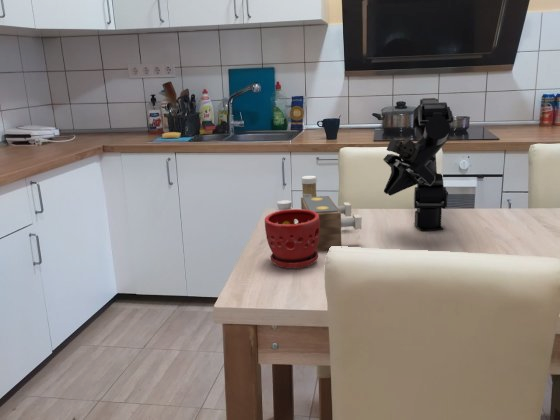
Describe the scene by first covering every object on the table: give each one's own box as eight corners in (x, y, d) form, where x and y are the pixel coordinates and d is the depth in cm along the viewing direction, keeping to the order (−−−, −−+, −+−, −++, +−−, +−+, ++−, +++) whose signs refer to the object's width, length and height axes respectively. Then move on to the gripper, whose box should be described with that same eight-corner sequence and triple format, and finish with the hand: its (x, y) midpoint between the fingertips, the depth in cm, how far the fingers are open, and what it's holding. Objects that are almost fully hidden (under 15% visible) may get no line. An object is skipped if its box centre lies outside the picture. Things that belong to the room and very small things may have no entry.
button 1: (349, 213, 154) (348, 202, 153) (351, 216, 151) (351, 205, 150) (315, 215, 154) (315, 204, 153) (317, 218, 151) (317, 207, 150)
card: (327, 197, 153) (327, 195, 152) (337, 211, 137) (337, 209, 137) (303, 198, 152) (303, 197, 152) (310, 213, 137) (310, 211, 137)
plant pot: (270, 253, 138) (268, 208, 135) (321, 253, 137) (320, 208, 134) (263, 272, 126) (260, 223, 123) (319, 272, 124) (318, 222, 121)
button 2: (358, 225, 142) (358, 214, 141) (361, 229, 139) (361, 217, 138) (322, 228, 141) (322, 216, 140) (324, 231, 138) (324, 219, 137)
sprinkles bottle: (320, 218, 168) (319, 176, 164) (308, 221, 165) (307, 178, 162) (311, 215, 171) (310, 174, 168) (300, 218, 169) (298, 176, 166)
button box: (329, 229, 157) (328, 195, 154) (341, 250, 138) (340, 213, 136) (302, 231, 156) (300, 197, 154) (310, 252, 138) (309, 214, 135)
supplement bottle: (298, 232, 155) (296, 200, 152) (290, 238, 150) (289, 204, 147) (281, 231, 157) (279, 199, 154) (273, 236, 152) (271, 203, 150)
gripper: (390, 123, 144) (352, 167, 144) (425, 130, 127) (381, 180, 127) (416, 150, 148) (379, 193, 148) (453, 160, 130) (411, 209, 131)
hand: (386, 193), depth 138 cm, fingers closed
